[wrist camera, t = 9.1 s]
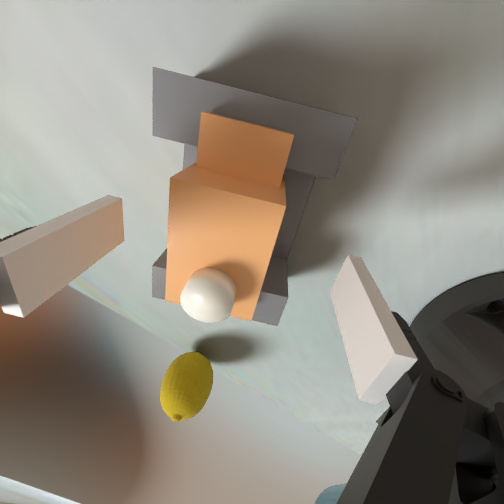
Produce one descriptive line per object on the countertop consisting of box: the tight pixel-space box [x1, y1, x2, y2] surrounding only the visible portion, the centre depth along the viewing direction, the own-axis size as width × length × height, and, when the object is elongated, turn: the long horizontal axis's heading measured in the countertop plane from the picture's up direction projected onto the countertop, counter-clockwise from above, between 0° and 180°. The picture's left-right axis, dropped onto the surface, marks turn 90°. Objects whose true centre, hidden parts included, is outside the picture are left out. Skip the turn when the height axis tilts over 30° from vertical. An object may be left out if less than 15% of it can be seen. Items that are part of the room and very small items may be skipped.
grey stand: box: [152, 67, 357, 326], centre depth 18 cm, size 10×15×6 cm, turn 168°
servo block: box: [165, 112, 294, 323], centre depth 15 cm, size 5×12×10 cm, turn 168°
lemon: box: [160, 352, 213, 422], centre depth 28 cm, size 6×6×8 cm
